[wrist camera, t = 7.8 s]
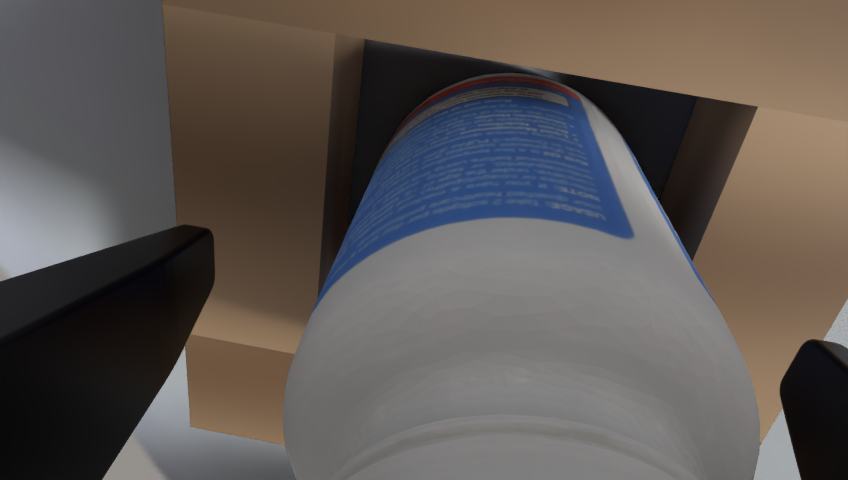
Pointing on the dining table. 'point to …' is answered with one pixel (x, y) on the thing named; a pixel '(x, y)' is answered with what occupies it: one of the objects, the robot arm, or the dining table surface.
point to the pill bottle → (515, 312)
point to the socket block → (525, 46)
